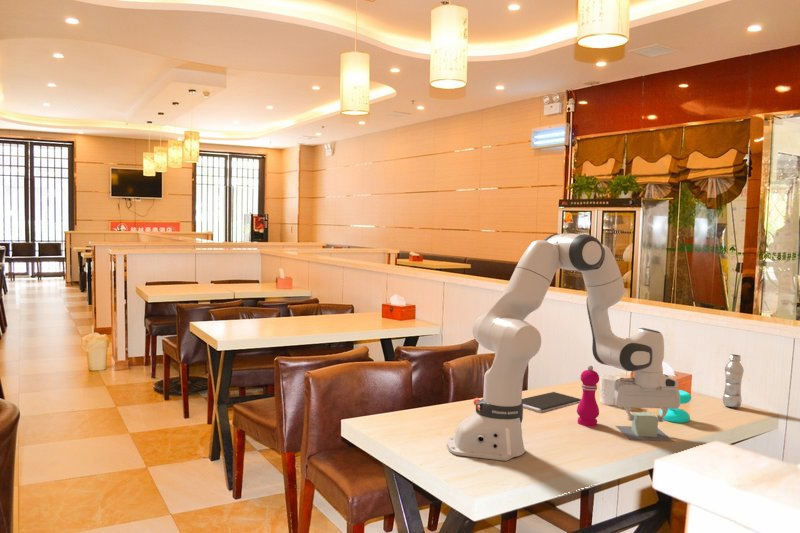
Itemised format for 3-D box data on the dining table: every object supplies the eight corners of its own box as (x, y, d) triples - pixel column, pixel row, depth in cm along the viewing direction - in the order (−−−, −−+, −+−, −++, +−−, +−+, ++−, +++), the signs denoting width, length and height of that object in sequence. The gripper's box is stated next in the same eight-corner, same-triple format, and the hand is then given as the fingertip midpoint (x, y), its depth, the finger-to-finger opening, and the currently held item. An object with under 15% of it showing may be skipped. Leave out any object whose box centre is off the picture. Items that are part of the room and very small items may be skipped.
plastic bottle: (741, 406, 237) (745, 355, 236) (740, 410, 232) (744, 357, 231) (722, 403, 241) (726, 352, 240) (721, 407, 235) (724, 355, 234)
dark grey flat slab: (582, 403, 237) (582, 398, 237) (539, 414, 219) (540, 409, 219) (553, 395, 247) (553, 391, 247) (510, 405, 229) (510, 400, 229)
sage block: (637, 436, 197) (639, 417, 196) (631, 430, 203) (632, 412, 202) (657, 437, 196) (658, 418, 196) (649, 430, 202) (651, 412, 202)
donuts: (695, 392, 217) (685, 397, 209) (693, 420, 217) (683, 426, 210) (666, 386, 224) (655, 391, 216) (664, 413, 224) (654, 419, 217)
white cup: (623, 406, 232) (624, 380, 231) (602, 405, 232) (603, 379, 231) (616, 400, 239) (617, 375, 239) (595, 399, 239) (597, 374, 239)
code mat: (629, 440, 193) (629, 439, 193) (615, 426, 207) (615, 425, 207) (674, 442, 192) (674, 441, 192) (657, 428, 206) (657, 427, 206)
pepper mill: (599, 428, 204) (603, 368, 203) (576, 426, 205) (580, 366, 204) (597, 422, 211) (600, 364, 210) (575, 420, 212) (578, 362, 211)
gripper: (618, 379, 196) (616, 422, 197) (683, 382, 195) (681, 425, 196) (611, 375, 202) (609, 416, 203) (675, 377, 202) (672, 418, 202)
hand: (645, 420), depth 199 cm, fingers open, 8 cm apart
